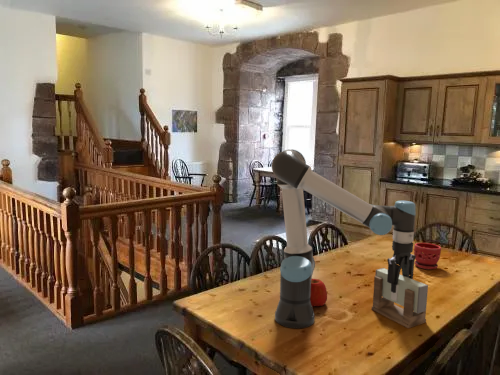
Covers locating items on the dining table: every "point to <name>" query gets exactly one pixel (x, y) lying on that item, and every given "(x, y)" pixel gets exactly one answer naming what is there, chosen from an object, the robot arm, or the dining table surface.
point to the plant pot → (427, 255)
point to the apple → (318, 293)
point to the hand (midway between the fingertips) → (398, 298)
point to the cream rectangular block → (404, 283)
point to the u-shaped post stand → (396, 307)
